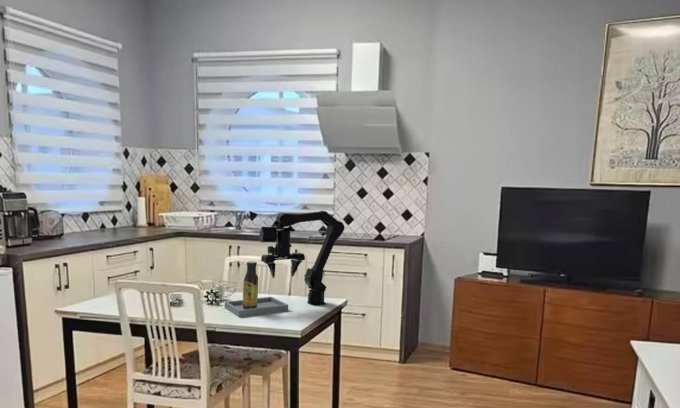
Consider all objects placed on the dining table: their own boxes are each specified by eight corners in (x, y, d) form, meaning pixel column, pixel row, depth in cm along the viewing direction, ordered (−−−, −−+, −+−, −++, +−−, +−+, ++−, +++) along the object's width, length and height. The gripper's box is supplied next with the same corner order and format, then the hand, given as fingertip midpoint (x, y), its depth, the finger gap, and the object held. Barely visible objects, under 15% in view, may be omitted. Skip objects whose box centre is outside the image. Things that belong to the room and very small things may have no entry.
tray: (271, 302, 228) (271, 296, 228) (288, 310, 214) (288, 304, 214) (224, 307, 216) (224, 301, 216) (238, 317, 202) (238, 310, 202)
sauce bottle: (239, 307, 213) (240, 261, 213) (251, 305, 218) (252, 259, 217) (249, 310, 209) (249, 263, 208) (260, 308, 214) (261, 261, 213)
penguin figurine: (163, 284, 219) (172, 281, 231) (162, 304, 219) (171, 300, 231) (177, 285, 219) (186, 282, 231) (176, 304, 219) (185, 300, 231)
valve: (214, 297, 234) (204, 304, 222) (214, 283, 234) (204, 289, 222) (227, 298, 234) (218, 304, 222) (227, 284, 233) (218, 289, 221)
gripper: (294, 238, 231) (293, 272, 232) (256, 240, 221) (255, 275, 222) (305, 241, 222) (305, 276, 222) (266, 243, 212) (266, 280, 212)
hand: (283, 277), depth 220 cm, fingers open, 9 cm apart
